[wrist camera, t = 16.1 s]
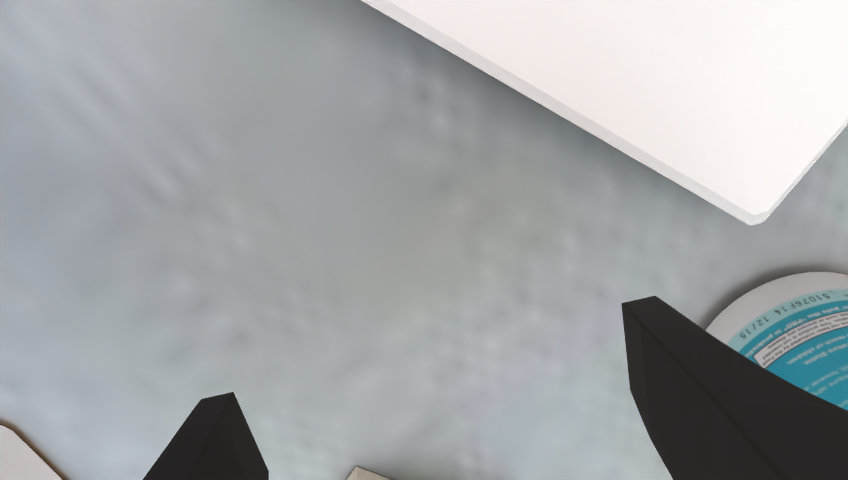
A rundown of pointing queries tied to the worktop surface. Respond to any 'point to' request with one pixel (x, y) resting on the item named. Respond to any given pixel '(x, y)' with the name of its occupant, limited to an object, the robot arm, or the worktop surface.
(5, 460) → the cup
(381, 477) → the beige block
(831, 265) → the worktop surface
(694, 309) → the worktop surface
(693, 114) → the plate
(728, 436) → the robot arm
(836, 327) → the pill bottle
